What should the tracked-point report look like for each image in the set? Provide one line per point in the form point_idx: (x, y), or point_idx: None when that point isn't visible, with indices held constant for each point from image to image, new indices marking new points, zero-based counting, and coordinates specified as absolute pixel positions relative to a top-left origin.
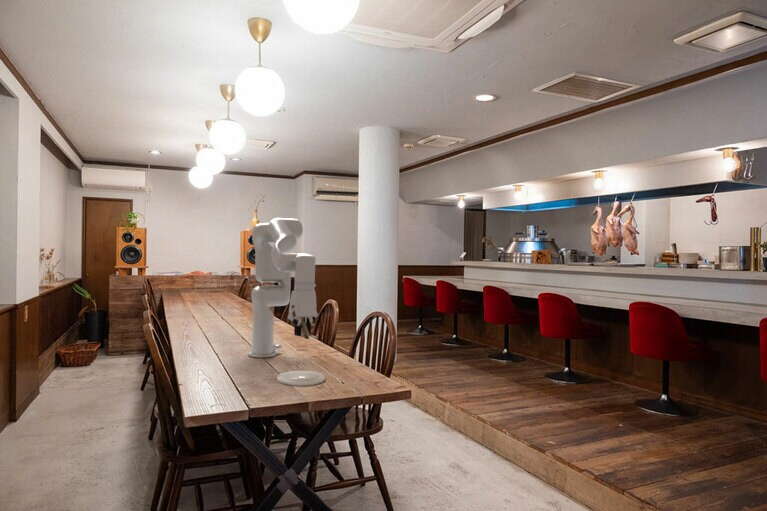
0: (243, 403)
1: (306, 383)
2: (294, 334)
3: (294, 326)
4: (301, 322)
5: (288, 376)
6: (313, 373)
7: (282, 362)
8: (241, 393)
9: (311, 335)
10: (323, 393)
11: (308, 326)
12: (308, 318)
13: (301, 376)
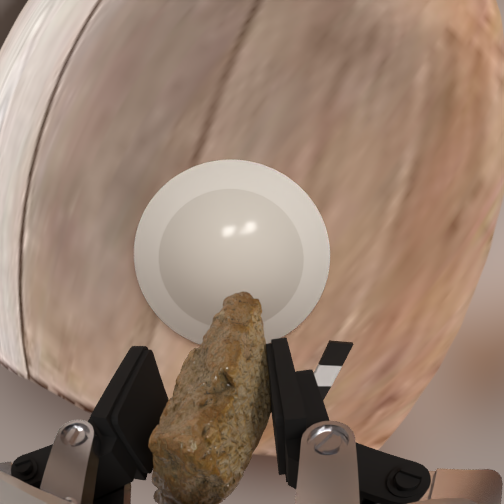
0: (20, 347)
1: (198, 342)
2: (132, 350)
3: (88, 420)
4: (163, 490)
5: (183, 234)
6: (301, 254)
7: (318, 5)
8: (21, 283)
9: (329, 352)
10: None
11: (276, 452)
12: (351, 491)
13: (229, 265)
